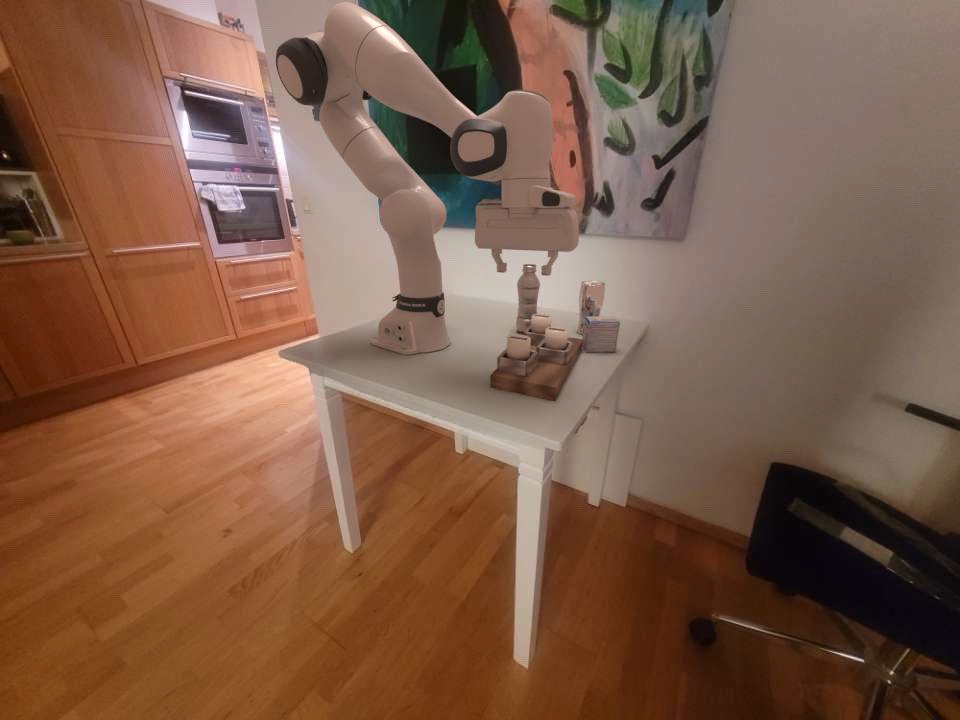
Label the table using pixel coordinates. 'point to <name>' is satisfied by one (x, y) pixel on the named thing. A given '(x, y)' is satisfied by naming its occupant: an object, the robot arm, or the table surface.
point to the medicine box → (600, 334)
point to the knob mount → (536, 368)
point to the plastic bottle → (527, 297)
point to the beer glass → (590, 301)
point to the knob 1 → (518, 347)
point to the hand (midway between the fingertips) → (523, 273)
